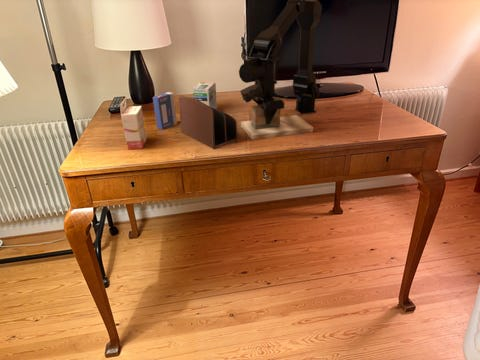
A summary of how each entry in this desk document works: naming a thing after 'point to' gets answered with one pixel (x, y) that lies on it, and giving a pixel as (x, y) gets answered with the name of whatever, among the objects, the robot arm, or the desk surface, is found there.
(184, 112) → the letter holder
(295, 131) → the birch board
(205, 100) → the light bulb box
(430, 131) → the desk surface
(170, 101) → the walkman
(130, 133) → the ink cartridge box
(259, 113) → the block
